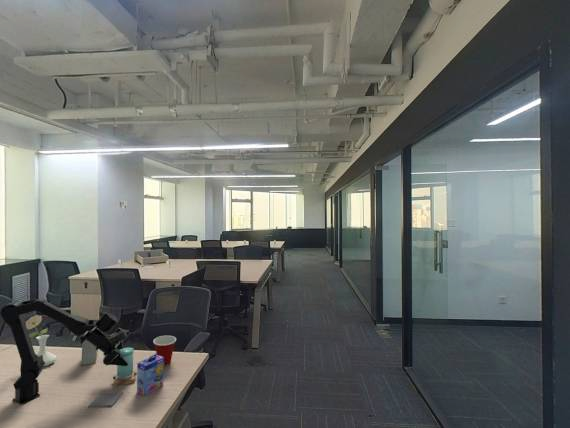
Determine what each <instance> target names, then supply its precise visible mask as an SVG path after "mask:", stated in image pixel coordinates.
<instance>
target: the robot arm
mask: <svg viewBox="0 0 570 428" xmlns="http://www.w3.org/2000/svg"><path fill="white" fill-rule="evenodd" d="M35 311H36V312H39V313H41V314H43V315H44V316H46V317H48V318H51V320H52V319H53V320H55V321H56V322H58V323H60V324H62V325H63V326H64V327H66V329H67V331H69V332H70V333H71V334H73V335H74V336H77V337H78V336H80V337H79V338H80V339H79V340H80V342H79V343H80V344H81V345H82V343H83V342H84V341H85V340H87V341H88V342H89V343H91V344H92V345H94V346H95V347H96V350H99V351H101V352H102V353H103V359H102V364H103V365H105V366H106V367H107V366H117V365H120V366H127V365H128V363H127V362H126V361H125V360H124V359H123V358H122V357H121V356H120V351H119V350H120V349H123V348H125V347H124V346H123V345H124V344H123V343H124V342H123V341H124V340H125V339H127V335H128V334H127V332H126V329H124V328H121V327H118V328H115V329H116V330H115V332H114V333H112V335H110V334H105V333H106V332H107V333H108V332H109V331H111V329H112V328H113V327H114V326H116V324H117V323H119V319H118V318H117V316H115V315H114V314H112V313H110V312H107V311H105V312H104V313H103V314H102V316H100V318H99V319H89V318H87V317H83V316H80V315H75V314H71V313H70V312H68V311H65V310H64V309H62V308H60V307H58V306H57V305H55V304H52V303H50V302H49V301H47V300H46V299H45V298H38V299H30V300H24V301H20V300H13V301H11V302H9V303H7V304H6V305H4V306H3V307H2V308H1V310H0V317H1V319H2V320H3V321H4V323H5V324H6V325H7V326H8V327H9V328H10V330H11V333H12V336H13V339H14V343H15V345H16V346H15V347H16V348H17V351H18V355H19V358H20V368H19V369H20V371H19V372H20V376H19V377H18V378H17V380H15V382H14V383H13V385H12V386H13V387H14V395H15V396H14V398H13V399H12V401H13V402H15V403H17V404H21V405H24V404H26V403H27V402H29V401H32V400H34V399H36V398H38V397H40V396H41V393H39V389H40V387H39V386H40V384H39V382H38V377H39V376H40V375H41V373H42V372H43V370H44V368H45V366H44V364H45V362H44V361H43V356H42V355H41V356H39V357H38V356H37V353H36V352H35V349H34V347H33V346H34V345H33V343H32V340H31V337H30V336H29V334H30V333H29V329H27V327H26V323H25V322H26V314H28V313H31V312H35ZM97 328H98V329H97ZM87 331H88V332H87ZM86 332H87V333H86ZM85 333H86V334H85ZM83 334H85V335H83Z"/></svg>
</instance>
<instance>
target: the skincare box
mask: <svg viewBox="0 0 570 428" xmlns="http://www.w3.org/2000/svg"><path fill="white" fill-rule="evenodd" d="M97 329H98V328H97ZM87 332H88V331H87ZM87 332H86V333H87ZM86 333H85V334H86ZM85 334H83V335H85ZM81 345H82V346H81V358H80V359H81V360H80V361H81V363H80V365H81V366H87V365H93V364H96V363H97V359H98V355H99V353H98V352H99V351H98V350H99V349H98V350H96V347H95V346H94V345H92V344H91V343H89V342H88V341H87V340H85V341H84V342H83V343H82V344H81Z"/></svg>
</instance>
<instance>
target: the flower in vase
mask: <svg viewBox="0 0 570 428" xmlns="http://www.w3.org/2000/svg"><path fill="white" fill-rule="evenodd" d="M42 319H43V318H42V315H38V314H36V315H34V316H31V317H30V318H28V320H25V324H26V327H27V330H31V329H32V330H33V328H35V330H36V331H34V332H31V333H29V336H30V338H33V337H35V336H36V335H37V334H38V336H37V337H35V339H36V340H37V341H38V343H39V351H38V353H36V355H37V356H38V357H39V356H41V355H42V356H43V361H44V362H45V364H44V367H46V366H48V365H51V364H53V363H54V362H56V360H57V359H58V358H57V356H56V355H55V354H54V353H51V352H49V351H47V348H46V344H47V339H48V338H49V337H50V335H49V334H46V333H48V330H49V327H46V328H44V329H42V330H41V331H40V333H39V331H38V328H37V326H39V325H40V323H41V322H42Z"/></svg>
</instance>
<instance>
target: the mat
mask: <svg viewBox="0 0 570 428" xmlns="http://www.w3.org/2000/svg"><path fill="white" fill-rule="evenodd" d="M123 394H124V392H123V391H109V392H106V391H105V392H100V393H99V394H98V395H97V396H96V397H95V398H94V399H93V400H92V401H91V402H90V403H89V404H88V405H87V407H88V408H107V407H108V408H109V407H113V406H114V405H115V404H116V403H117V402H118V400H119V399H120V398H121V396H122V395H123Z"/></svg>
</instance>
